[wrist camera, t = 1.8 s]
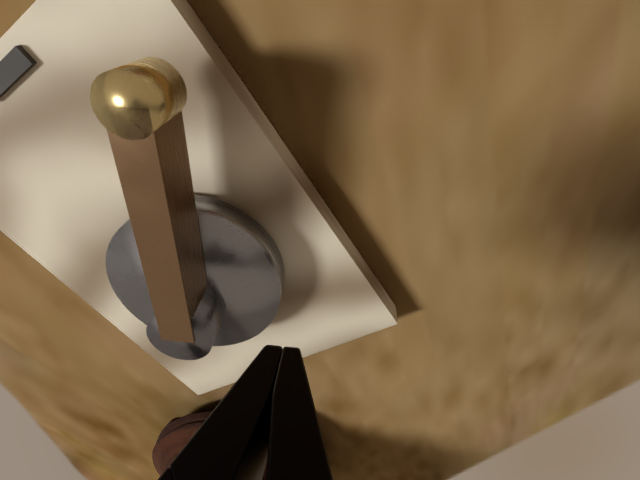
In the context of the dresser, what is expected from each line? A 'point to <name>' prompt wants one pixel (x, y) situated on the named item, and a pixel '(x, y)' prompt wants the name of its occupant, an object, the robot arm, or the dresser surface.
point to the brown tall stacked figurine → (178, 439)
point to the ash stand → (205, 164)
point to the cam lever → (178, 225)
